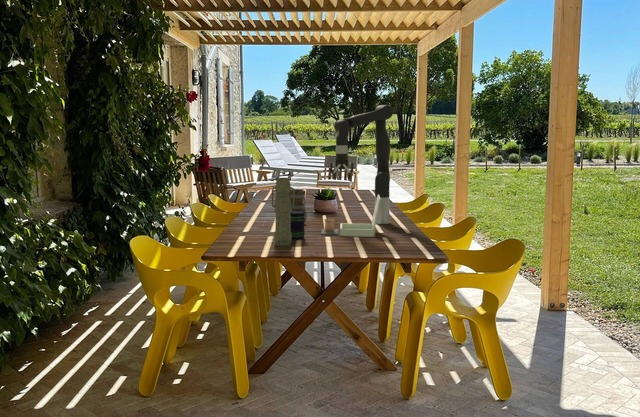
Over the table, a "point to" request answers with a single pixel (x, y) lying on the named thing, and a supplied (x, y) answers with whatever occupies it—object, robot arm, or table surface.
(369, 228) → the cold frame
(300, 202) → the mug
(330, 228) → the pot
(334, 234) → the slate mat
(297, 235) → the storage jar
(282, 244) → the thermos
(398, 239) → the table surface
